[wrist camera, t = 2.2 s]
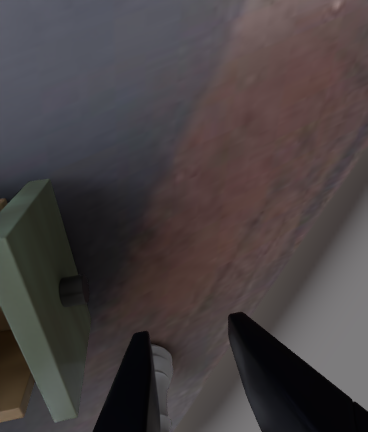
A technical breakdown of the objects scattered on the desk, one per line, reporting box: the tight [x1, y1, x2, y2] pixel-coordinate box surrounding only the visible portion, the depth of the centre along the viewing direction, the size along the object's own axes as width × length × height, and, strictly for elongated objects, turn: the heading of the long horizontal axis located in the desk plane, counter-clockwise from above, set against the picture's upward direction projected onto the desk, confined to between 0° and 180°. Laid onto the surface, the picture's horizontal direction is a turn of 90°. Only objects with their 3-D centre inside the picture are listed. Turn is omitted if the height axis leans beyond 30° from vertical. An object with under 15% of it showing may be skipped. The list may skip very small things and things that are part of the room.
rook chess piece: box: [151, 344, 173, 432], centre depth 22 cm, size 4×4×8 cm
